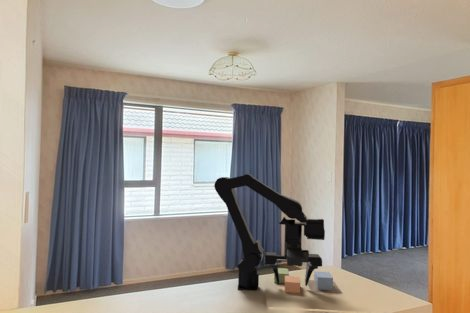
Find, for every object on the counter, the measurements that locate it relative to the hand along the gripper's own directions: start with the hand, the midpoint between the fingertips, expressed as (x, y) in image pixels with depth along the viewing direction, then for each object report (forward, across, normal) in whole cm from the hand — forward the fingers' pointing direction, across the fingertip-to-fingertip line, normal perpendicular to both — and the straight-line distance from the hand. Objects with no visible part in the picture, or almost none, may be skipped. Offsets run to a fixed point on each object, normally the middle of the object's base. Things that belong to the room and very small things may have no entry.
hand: (292, 285), depth 116 cm
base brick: (+1, +11, +4) cm, 12 cm away
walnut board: (+2, +11, +4) cm, 12 cm away
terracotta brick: (+2, 0, 0) cm, 2 cm away
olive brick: (+2, -3, +9) cm, 10 cm away
